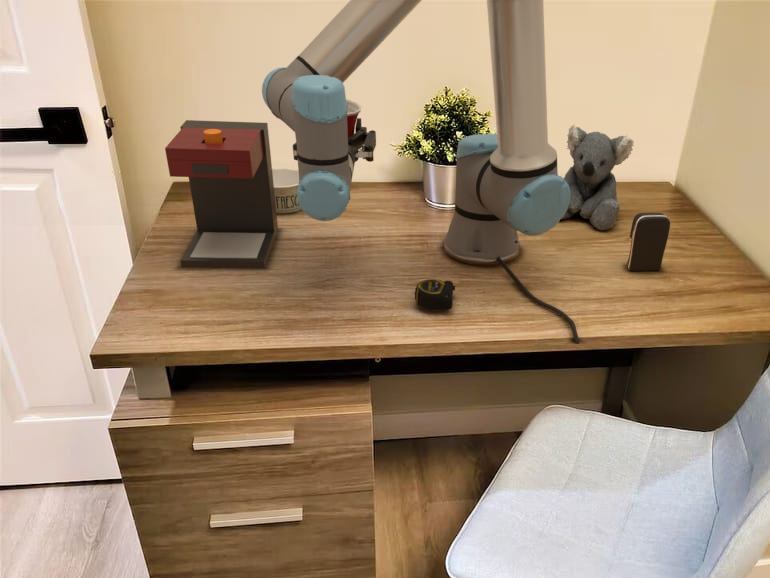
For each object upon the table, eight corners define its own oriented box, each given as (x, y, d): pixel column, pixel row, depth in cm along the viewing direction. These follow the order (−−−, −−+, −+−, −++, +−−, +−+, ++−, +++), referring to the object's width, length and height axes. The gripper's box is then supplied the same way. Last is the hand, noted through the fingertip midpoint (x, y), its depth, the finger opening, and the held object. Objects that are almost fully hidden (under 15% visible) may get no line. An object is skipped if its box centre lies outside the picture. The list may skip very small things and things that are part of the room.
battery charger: (654, 262, 150) (665, 209, 143) (661, 271, 146) (673, 217, 140) (622, 263, 148) (631, 210, 142) (628, 272, 145) (638, 217, 139)
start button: (221, 148, 129) (219, 134, 128) (203, 147, 129) (201, 133, 127) (224, 143, 131) (222, 129, 130) (207, 142, 131) (205, 128, 130)
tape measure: (451, 316, 127) (452, 297, 125) (412, 313, 127) (412, 294, 125) (454, 297, 132) (455, 278, 130) (417, 294, 132) (417, 275, 130)
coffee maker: (264, 268, 137) (251, 152, 125) (181, 267, 136) (160, 149, 124) (278, 229, 152) (267, 122, 140) (203, 228, 151) (186, 120, 139)
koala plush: (537, 218, 165) (546, 131, 155) (561, 194, 180) (571, 112, 169) (612, 234, 160) (627, 145, 150) (630, 208, 174) (645, 125, 164)
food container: (290, 191, 170) (288, 164, 167) (321, 207, 164) (319, 179, 160) (244, 203, 163) (240, 175, 159) (274, 220, 156) (271, 190, 153)
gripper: (271, 186, 121) (289, 143, 140) (390, 188, 123) (392, 145, 142) (266, 141, 117) (285, 103, 136) (390, 144, 119) (391, 106, 138)
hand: (340, 125), depth 139 cm, fingers closed on plastic cup, 6 cm apart
